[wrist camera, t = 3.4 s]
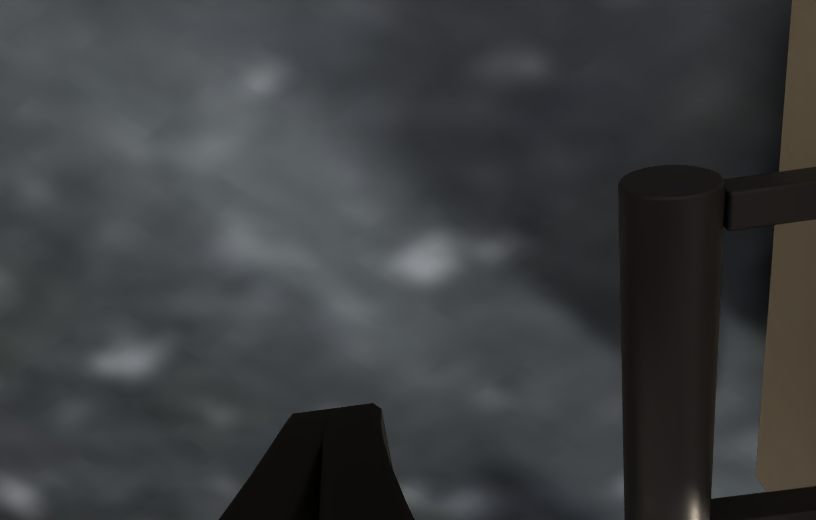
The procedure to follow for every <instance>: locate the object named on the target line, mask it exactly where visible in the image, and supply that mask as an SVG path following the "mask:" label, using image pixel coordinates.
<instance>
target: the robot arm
mask: <svg viewBox="0 0 816 520" xmlns="http://www.w3.org/2000/svg"><path fill="white" fill-rule="evenodd" d="M219 520H414V518H413V516H412V513H411V511H410V509H409V507H408V505H407V503H406V501H405V498H404V496H403V493H402V491H401V488H400V486H399V484H398V481H397V479H396V476H395V474H394V471H393V468H392V462H391V457H390V452H389V446H388V441H387V436H386V431H385V425H384V420H383V415H382V409H381V408H379V407H378V406H376V405H375V404H373V403H370V404H363V405H355V406H347V407H340V408H332V409H325V410H317V411H310V412H302V413H294V414H292V415H291V417H290V418H289V419H288V420H287V422H286V423H285V425H284V426H283V428H282V429H281V431H280V432H279V434H278V435H277V437H276V438H275V440H274V441H273V443H272V444H271V446H270V447H269V449H268V450H267V452H266V453H265V455H264V456H263V458H262V459H261V461H260V462H259V464H258V465H257V467H256V468H255V470H254V471H253V473H252V474H251V476H250V477H249V478H248V480H247V481H246V483H245V484H244V485H243V487H242V488H241V490H240V491H239V492H238V494H237V495H236V497H235V498H234V499H233V501H232V502H231V504H230V505H229V506H228V508H227V509H226V510H225V512H224V513H223V515H222V516H221V517H220V519H219Z"/></svg>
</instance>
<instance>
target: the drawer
mask: <svg viewBox="0 0 816 520" xmlns="http://www.w3.org/2000/svg"><path fill="white" fill-rule="evenodd" d="M618 194H619V247H620V300H621V353H622V406H623V458H624V511H625V520H816V0H792V8H791V21H790V34H789V47H788V60H787V73H786V86H785V99H784V112H783V125H782V138H781V151H780V164H779V172H774V173H767V174H760V175H752V176H745V177H738V178H731V179H724V178H723V176H722V175H721V174H719V173H718V172H716V171H713V170H710V169H707V168H702V167H697V166H688V165H664V166H654V167H648V168H644V169H640V170H636V171H633V172H631V173H629V174H627V175H625V176H624V177H622V178H621V180H620V182H619V185H618ZM771 225H775V228H774V241H773V254H772V267H771V280H770V293H769V306H768V319H767V332H766V345H765V358H764V371H763V384H762V397H761V410H760V423H759V436H758V449H757V462H756V477H757V478H758V480H759V481H760V483H761V484H762V486H763V487H764V489H765V490H766V491H767V492H763V493H755V494H747V495H739V496H731V497H723V498H715V499H711V486H712V464H713V442H714V420H715V398H716V376H717V354H718V332H719V310H720V288H721V266H722V244H723V227H724V228H725V229H726V230H729V231H735V230H742V229H749V228H757V227H764V226H771Z"/></svg>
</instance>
